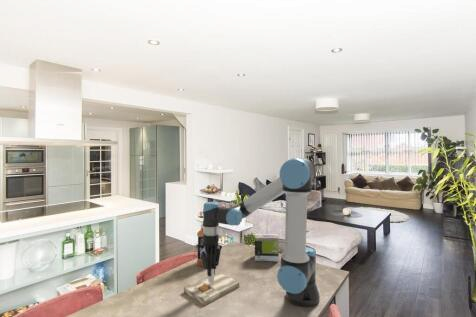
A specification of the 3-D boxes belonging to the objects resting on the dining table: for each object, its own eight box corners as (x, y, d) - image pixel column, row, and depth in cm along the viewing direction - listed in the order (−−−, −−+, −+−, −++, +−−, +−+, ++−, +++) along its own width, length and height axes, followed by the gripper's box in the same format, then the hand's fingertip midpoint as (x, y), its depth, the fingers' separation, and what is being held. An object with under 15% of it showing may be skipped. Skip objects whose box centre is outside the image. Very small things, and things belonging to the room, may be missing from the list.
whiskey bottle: (212, 267, 152) (211, 213, 152) (196, 266, 154) (195, 212, 154) (217, 260, 163) (216, 209, 162) (202, 259, 164) (201, 209, 164)
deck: (239, 286, 130) (239, 281, 130) (205, 305, 114) (205, 299, 114) (218, 276, 141) (218, 272, 141) (184, 292, 125) (184, 287, 125)
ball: (208, 295, 123) (211, 286, 125) (203, 293, 121) (206, 284, 122) (202, 292, 126) (206, 284, 128) (197, 290, 123) (200, 282, 125)
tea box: (277, 255, 170) (277, 233, 170) (278, 262, 160) (278, 238, 160) (255, 255, 171) (254, 232, 171) (254, 261, 161) (254, 237, 161)
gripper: (216, 229, 134) (216, 274, 134) (195, 235, 125) (195, 283, 125) (226, 232, 129) (226, 279, 129) (205, 238, 120) (205, 289, 120)
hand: (211, 281), depth 127 cm, fingers closed
